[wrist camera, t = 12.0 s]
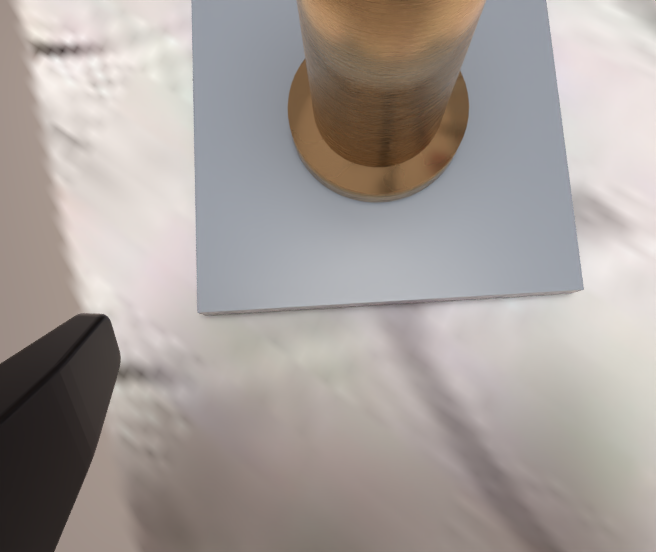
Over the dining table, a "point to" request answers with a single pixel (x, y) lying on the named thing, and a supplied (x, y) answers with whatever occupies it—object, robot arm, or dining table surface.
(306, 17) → the disc
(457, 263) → the slate pad
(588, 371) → the dining table surface
